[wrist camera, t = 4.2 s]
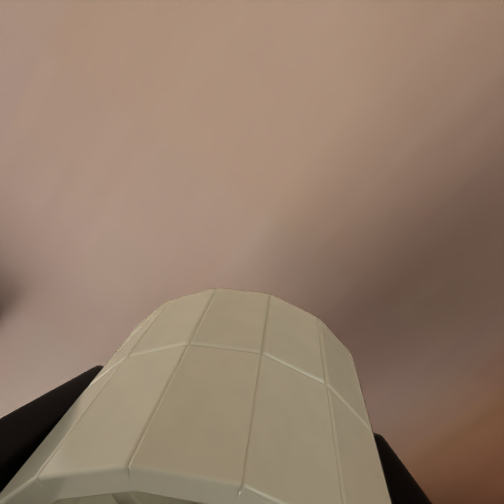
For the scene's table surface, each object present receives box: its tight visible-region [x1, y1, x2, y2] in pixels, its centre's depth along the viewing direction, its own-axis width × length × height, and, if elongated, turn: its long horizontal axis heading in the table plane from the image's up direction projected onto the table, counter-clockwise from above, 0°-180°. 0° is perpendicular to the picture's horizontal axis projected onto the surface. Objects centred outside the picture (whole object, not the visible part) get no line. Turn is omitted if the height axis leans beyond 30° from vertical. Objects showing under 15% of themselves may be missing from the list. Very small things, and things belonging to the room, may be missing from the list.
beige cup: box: [0, 288, 393, 504], centre depth 7 cm, size 7×7×5 cm
